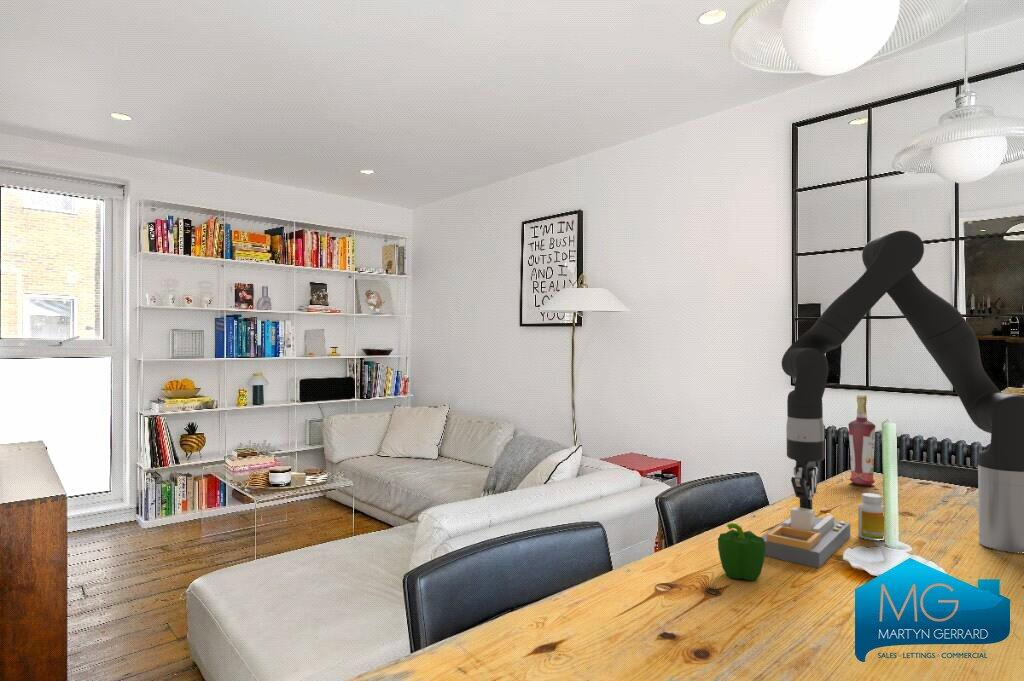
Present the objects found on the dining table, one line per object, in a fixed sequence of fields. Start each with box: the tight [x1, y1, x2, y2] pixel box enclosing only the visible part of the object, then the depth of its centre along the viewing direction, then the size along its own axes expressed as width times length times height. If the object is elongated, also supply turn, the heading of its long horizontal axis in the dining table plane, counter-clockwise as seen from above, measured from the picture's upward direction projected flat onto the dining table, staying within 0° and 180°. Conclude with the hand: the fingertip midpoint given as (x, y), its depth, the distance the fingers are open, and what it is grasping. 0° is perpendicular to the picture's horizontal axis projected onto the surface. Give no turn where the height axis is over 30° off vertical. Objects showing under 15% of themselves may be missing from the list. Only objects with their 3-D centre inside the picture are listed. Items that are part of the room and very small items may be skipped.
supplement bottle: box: [857, 492, 884, 541], centre depth 134 cm, size 5×5×10 cm
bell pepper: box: [717, 522, 766, 581], centre depth 112 cm, size 8×8×10 cm
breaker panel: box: [760, 514, 851, 569], centre depth 130 cm, size 12×26×5 cm, turn 138°
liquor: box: [848, 394, 876, 487], centre depth 186 cm, size 7×7×28 cm
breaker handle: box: [790, 506, 816, 532], centre depth 128 cm, size 4×3×5 cm
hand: (806, 515), depth 131 cm, fingers closed
